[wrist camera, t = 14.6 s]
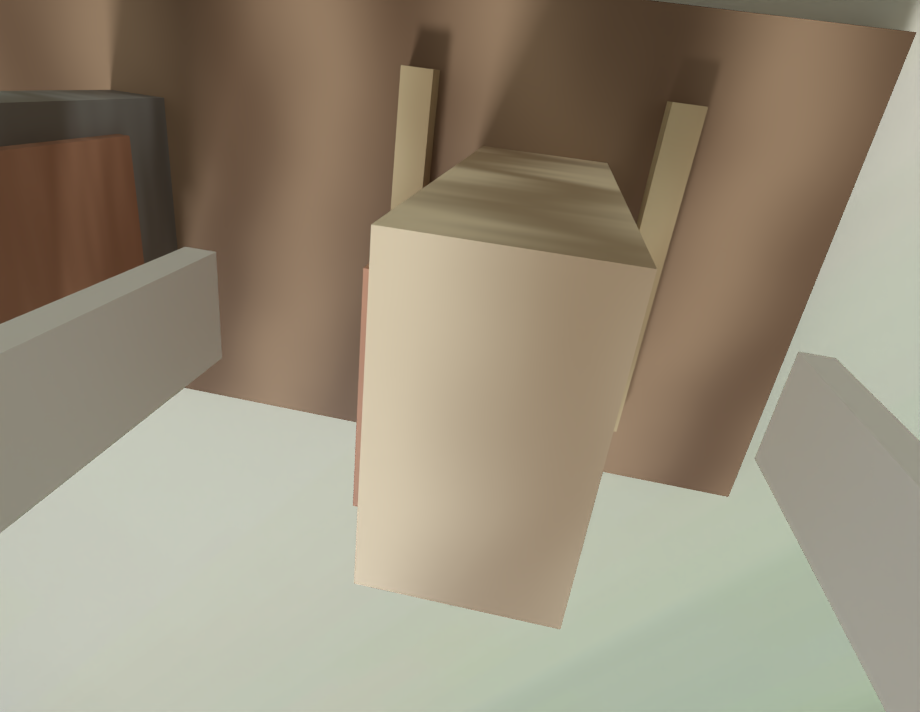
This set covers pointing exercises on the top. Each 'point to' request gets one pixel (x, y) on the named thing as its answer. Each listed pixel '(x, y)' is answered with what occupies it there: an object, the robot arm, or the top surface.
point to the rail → (440, 172)
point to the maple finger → (493, 379)
